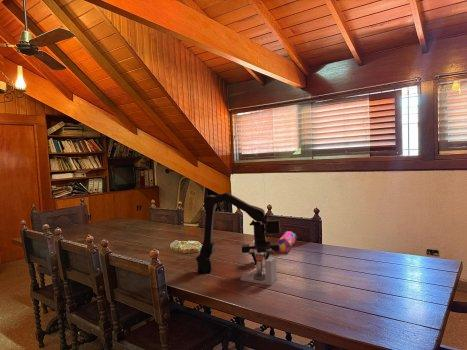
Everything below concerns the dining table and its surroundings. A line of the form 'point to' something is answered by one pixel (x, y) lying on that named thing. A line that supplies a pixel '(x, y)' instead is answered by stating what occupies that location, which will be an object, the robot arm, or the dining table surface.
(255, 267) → the knob
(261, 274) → the ball-topped lever
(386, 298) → the dining table surface
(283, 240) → the pencil case
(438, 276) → the dining table surface
